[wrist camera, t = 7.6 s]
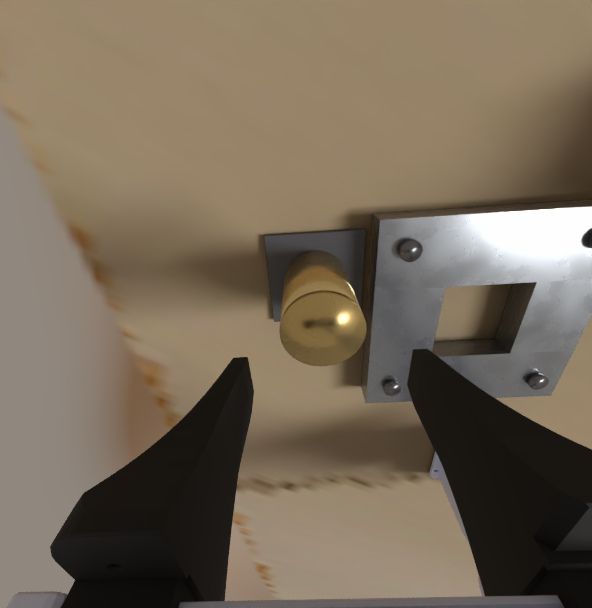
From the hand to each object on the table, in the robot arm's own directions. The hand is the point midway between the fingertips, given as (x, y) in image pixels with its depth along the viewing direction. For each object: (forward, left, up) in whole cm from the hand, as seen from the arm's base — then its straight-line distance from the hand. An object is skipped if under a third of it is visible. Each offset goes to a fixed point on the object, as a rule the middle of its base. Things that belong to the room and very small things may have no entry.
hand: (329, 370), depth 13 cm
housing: (-3, -12, -10) cm, 16 cm away
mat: (0, 0, -10) cm, 10 cm away
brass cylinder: (0, 0, -10) cm, 10 cm away
